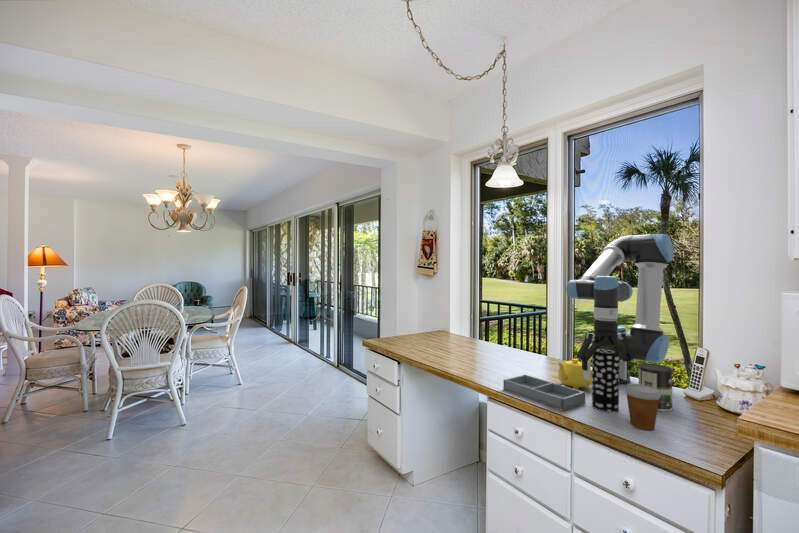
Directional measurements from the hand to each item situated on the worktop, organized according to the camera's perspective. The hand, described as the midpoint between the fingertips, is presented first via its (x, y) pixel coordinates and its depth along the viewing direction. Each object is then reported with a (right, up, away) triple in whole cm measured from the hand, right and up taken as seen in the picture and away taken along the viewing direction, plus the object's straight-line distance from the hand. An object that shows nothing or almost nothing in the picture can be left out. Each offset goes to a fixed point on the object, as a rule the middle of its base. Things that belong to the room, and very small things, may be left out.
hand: (605, 379), depth 134 cm
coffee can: (+19, -10, +2) cm, 22 cm away
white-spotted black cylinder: (0, -10, 0) cm, 10 cm away
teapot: (+1, -10, +23) cm, 25 cm away
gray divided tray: (-18, -10, +12) cm, 23 cm away
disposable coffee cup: (+3, -10, -16) cm, 19 cm away
